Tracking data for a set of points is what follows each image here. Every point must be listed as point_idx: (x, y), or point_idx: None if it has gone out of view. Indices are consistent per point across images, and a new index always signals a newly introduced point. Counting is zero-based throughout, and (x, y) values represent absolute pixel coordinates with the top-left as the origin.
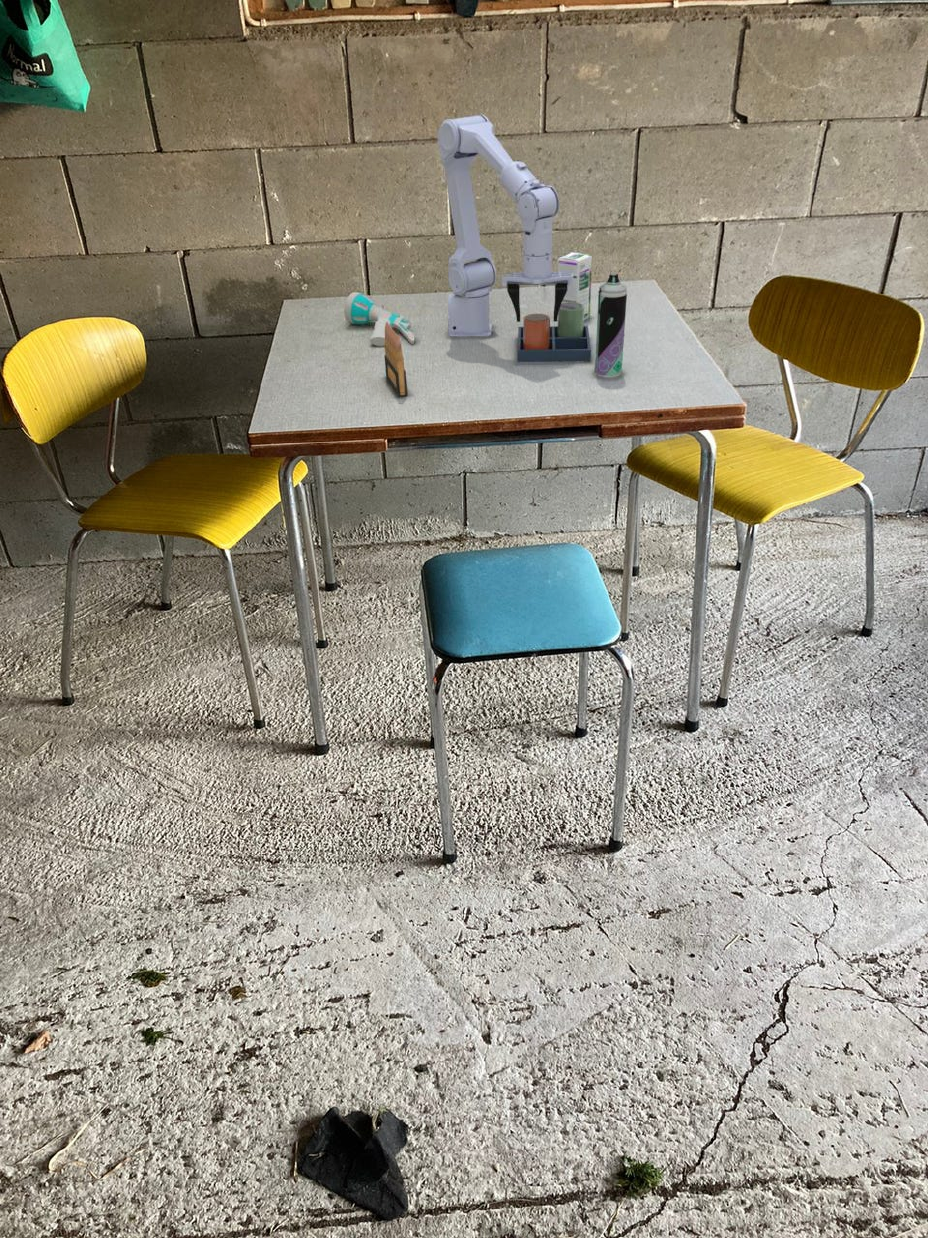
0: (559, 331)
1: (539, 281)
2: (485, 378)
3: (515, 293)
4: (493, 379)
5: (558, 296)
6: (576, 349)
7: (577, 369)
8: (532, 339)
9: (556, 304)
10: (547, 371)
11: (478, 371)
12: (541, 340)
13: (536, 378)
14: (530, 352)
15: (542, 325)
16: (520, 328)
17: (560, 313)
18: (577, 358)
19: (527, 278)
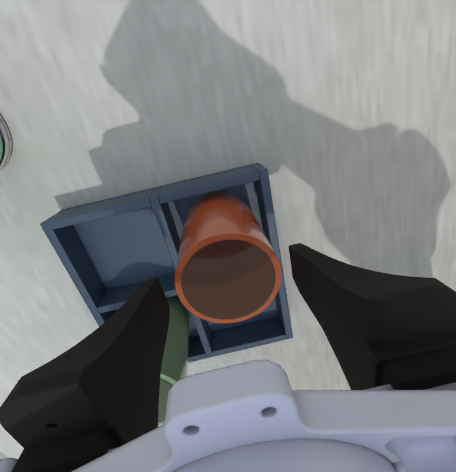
0: (178, 320)
1: (195, 398)
2: (337, 10)
3: (388, 289)
4: (311, 5)
5: (90, 349)
6: (86, 218)
7: (77, 156)
8: (227, 207)
9: (124, 318)
10: (158, 120)
11: (363, 76)
12: (197, 214)
13: (174, 46)
14: (225, 177)
15: (193, 237)
16: (286, 328)
17: (170, 362)
18: (90, 205)
19: (359, 438)
